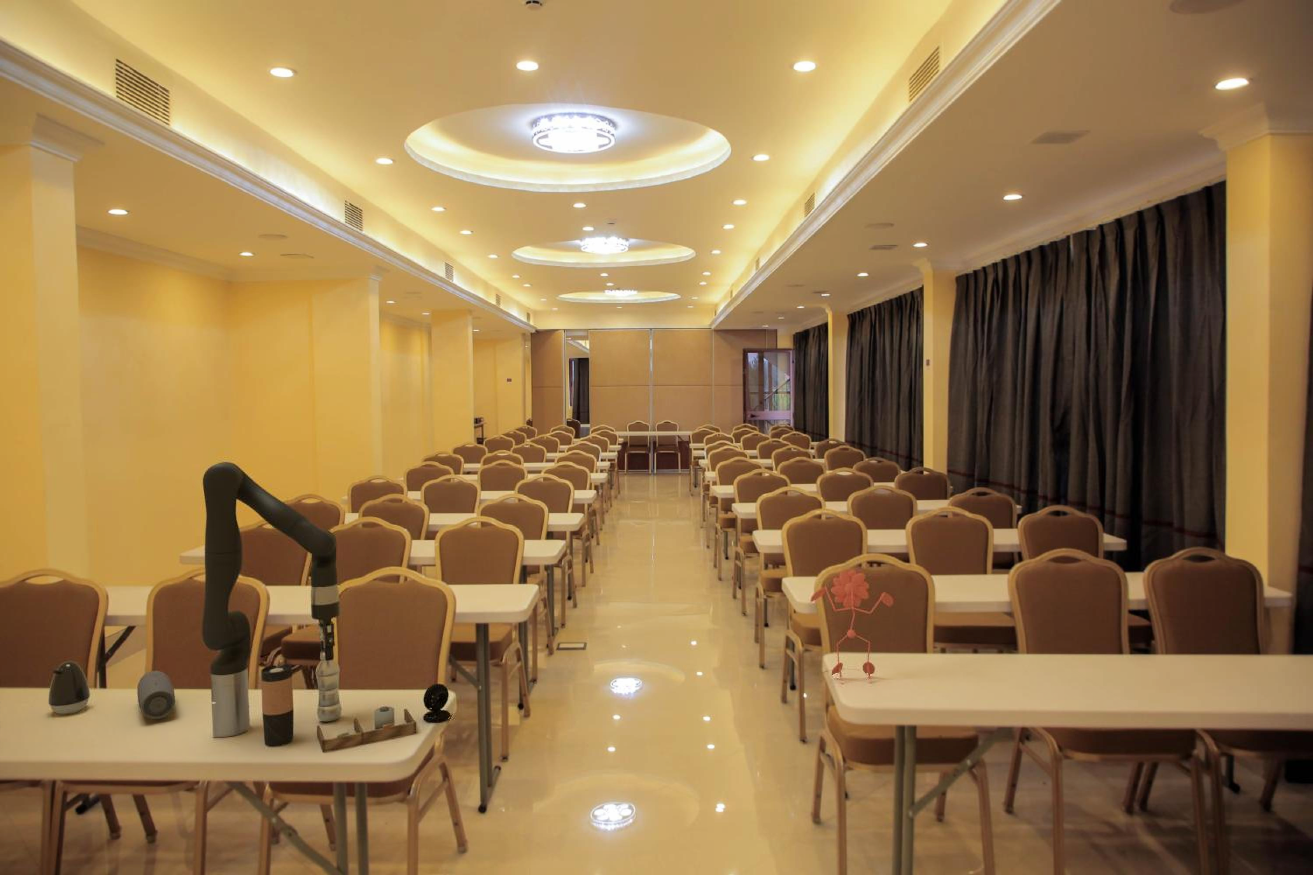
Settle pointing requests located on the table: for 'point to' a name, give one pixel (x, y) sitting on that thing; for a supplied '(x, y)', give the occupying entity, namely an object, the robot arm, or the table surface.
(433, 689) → the webcam
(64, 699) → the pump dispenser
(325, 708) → the plastic bottle
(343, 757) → the table surface
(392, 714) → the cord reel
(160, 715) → the bluetooth speaker
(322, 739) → the slot rack
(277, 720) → the travel mug
